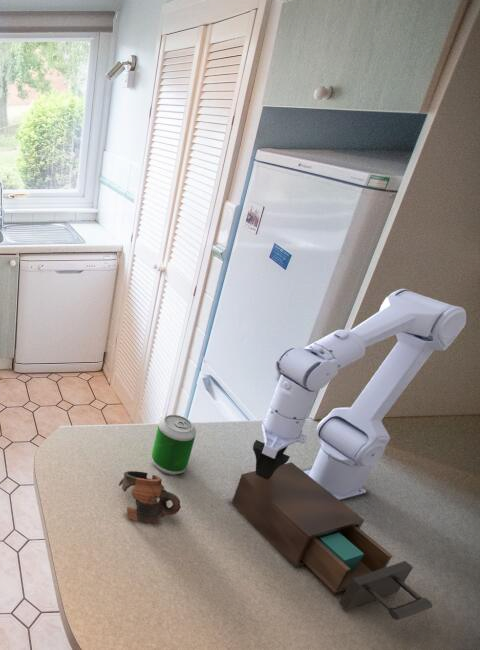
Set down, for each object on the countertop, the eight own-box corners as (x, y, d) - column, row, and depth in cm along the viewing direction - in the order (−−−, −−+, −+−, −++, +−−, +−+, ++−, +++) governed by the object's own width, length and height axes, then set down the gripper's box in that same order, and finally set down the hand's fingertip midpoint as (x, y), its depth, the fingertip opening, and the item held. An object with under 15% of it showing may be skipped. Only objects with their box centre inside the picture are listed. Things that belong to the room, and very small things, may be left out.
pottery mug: (111, 515, 91) (113, 473, 92) (127, 505, 98) (128, 466, 99) (175, 534, 84) (176, 488, 84) (186, 521, 91) (188, 479, 92)
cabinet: (348, 550, 84) (364, 519, 80) (294, 567, 81) (309, 536, 77) (280, 490, 96) (291, 462, 93) (231, 503, 93) (241, 474, 90)
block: (335, 577, 77) (311, 554, 81) (355, 571, 78) (330, 548, 82) (344, 560, 75) (319, 537, 79) (364, 553, 76) (338, 532, 80)
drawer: (430, 620, 72) (448, 595, 69) (376, 640, 69) (392, 615, 66) (321, 525, 88) (332, 502, 85) (274, 539, 85) (284, 515, 82)
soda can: (189, 479, 99) (201, 436, 94) (153, 474, 100) (163, 432, 95) (181, 455, 106) (192, 414, 101) (148, 451, 107) (157, 410, 102)
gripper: (305, 439, 76) (281, 498, 82) (322, 402, 85) (300, 457, 91) (258, 420, 80) (239, 477, 86) (279, 386, 90) (260, 440, 95)
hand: (267, 465), depth 89 cm, fingers open, 7 cm apart
